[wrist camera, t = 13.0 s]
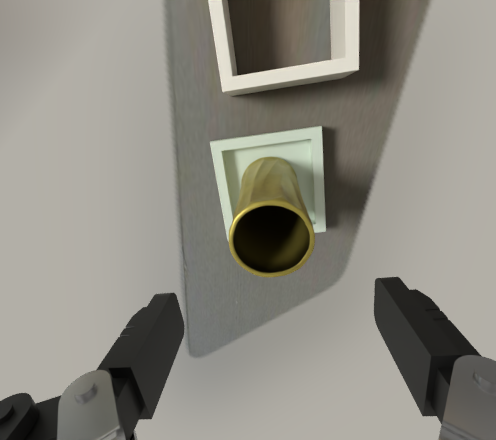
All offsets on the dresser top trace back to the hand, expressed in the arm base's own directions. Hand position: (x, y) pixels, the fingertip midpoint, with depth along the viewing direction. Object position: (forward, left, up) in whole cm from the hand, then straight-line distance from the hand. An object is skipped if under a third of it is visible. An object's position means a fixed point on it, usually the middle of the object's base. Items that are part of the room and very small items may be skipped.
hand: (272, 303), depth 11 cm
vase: (0, 0, -20) cm, 20 cm away
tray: (0, 0, -21) cm, 21 cm away
